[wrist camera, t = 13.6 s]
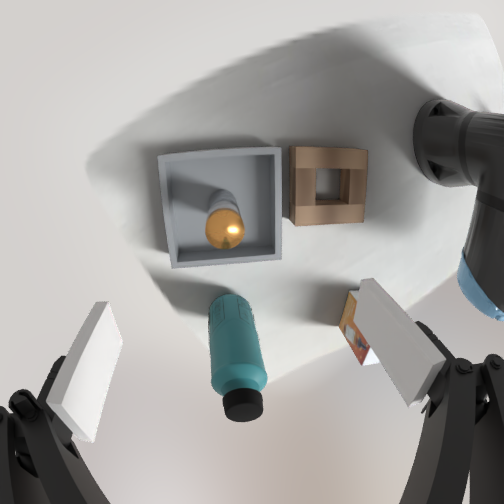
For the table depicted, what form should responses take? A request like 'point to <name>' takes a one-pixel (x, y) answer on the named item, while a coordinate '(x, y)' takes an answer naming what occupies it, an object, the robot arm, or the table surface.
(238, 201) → the tray
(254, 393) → the beverage bottle
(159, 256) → the table surface
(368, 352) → the small box
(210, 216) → the pin
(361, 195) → the block
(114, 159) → the table surface
